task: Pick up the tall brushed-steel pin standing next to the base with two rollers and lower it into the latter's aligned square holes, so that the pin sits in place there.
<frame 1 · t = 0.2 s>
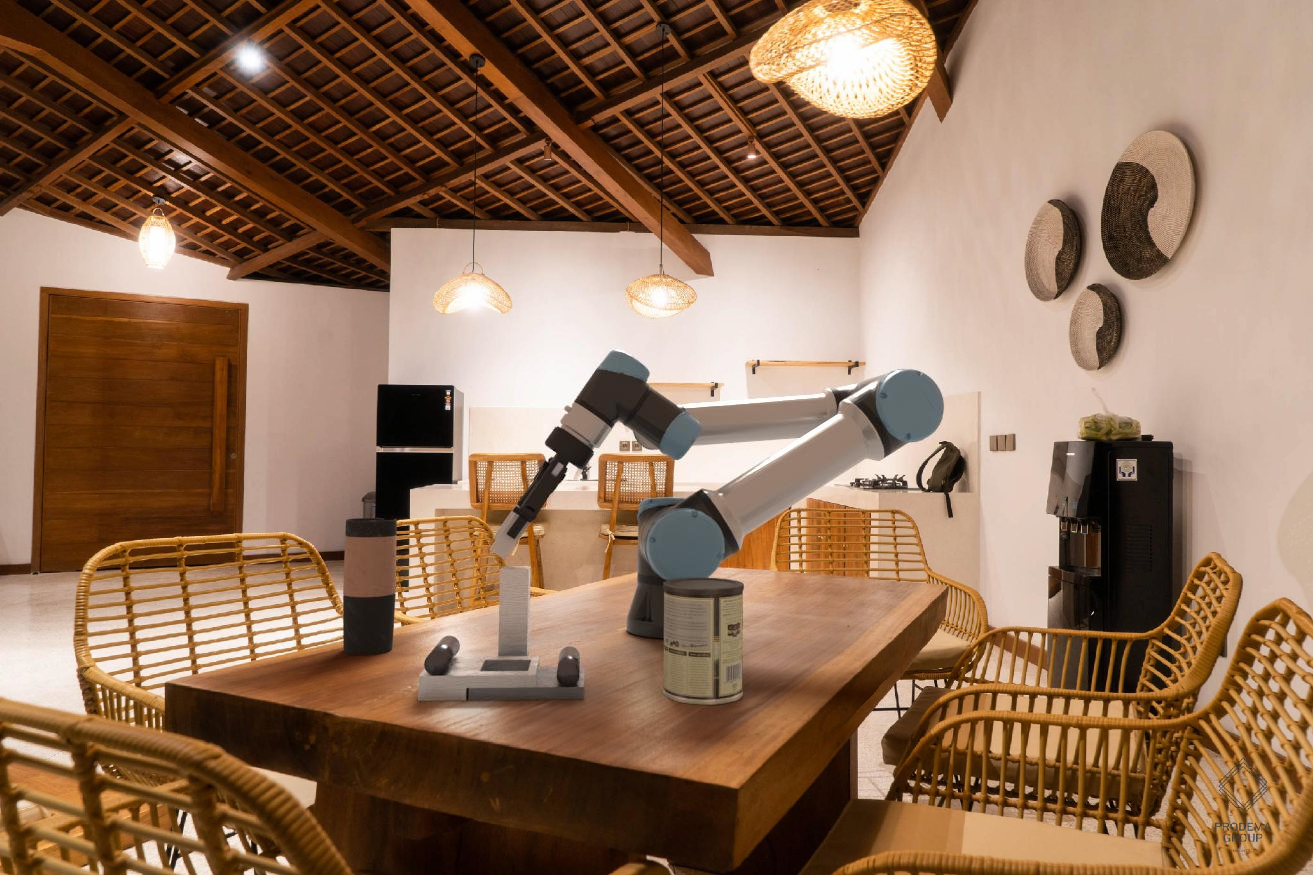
hand: (498, 548, 129), 16 cm above the table, tool tilted 35°, fingers open, 13 cm apart
travel mug: (368, 651, 127), on the table
pin: (513, 666, 118), on the table
coffee can: (702, 695, 105), on the table
base with two rollers: (505, 688, 106), on the table
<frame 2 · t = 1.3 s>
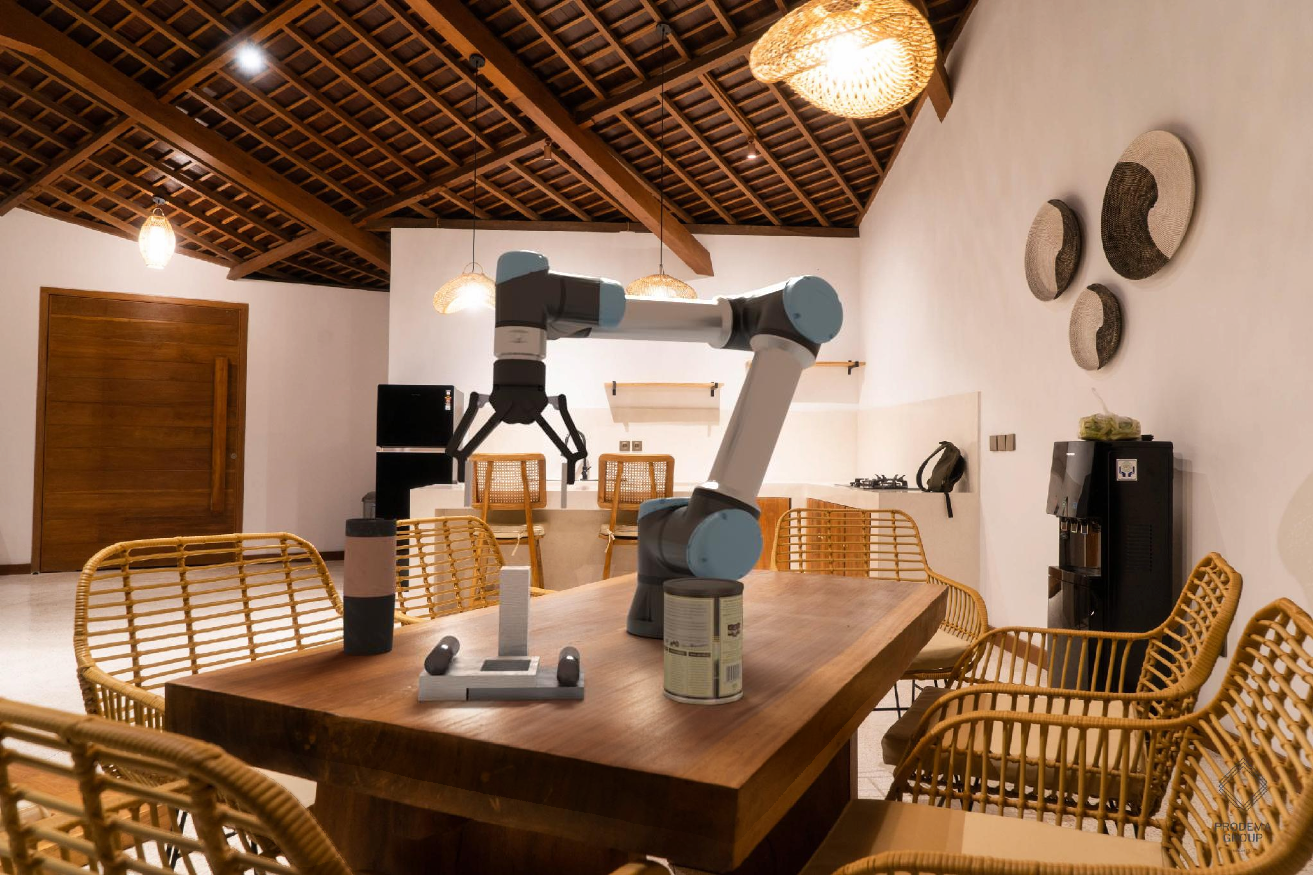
hand: (516, 507, 119), 23 cm above the table, tool pointing down, fingers open, 13 cm apart
nothing on the table moved.
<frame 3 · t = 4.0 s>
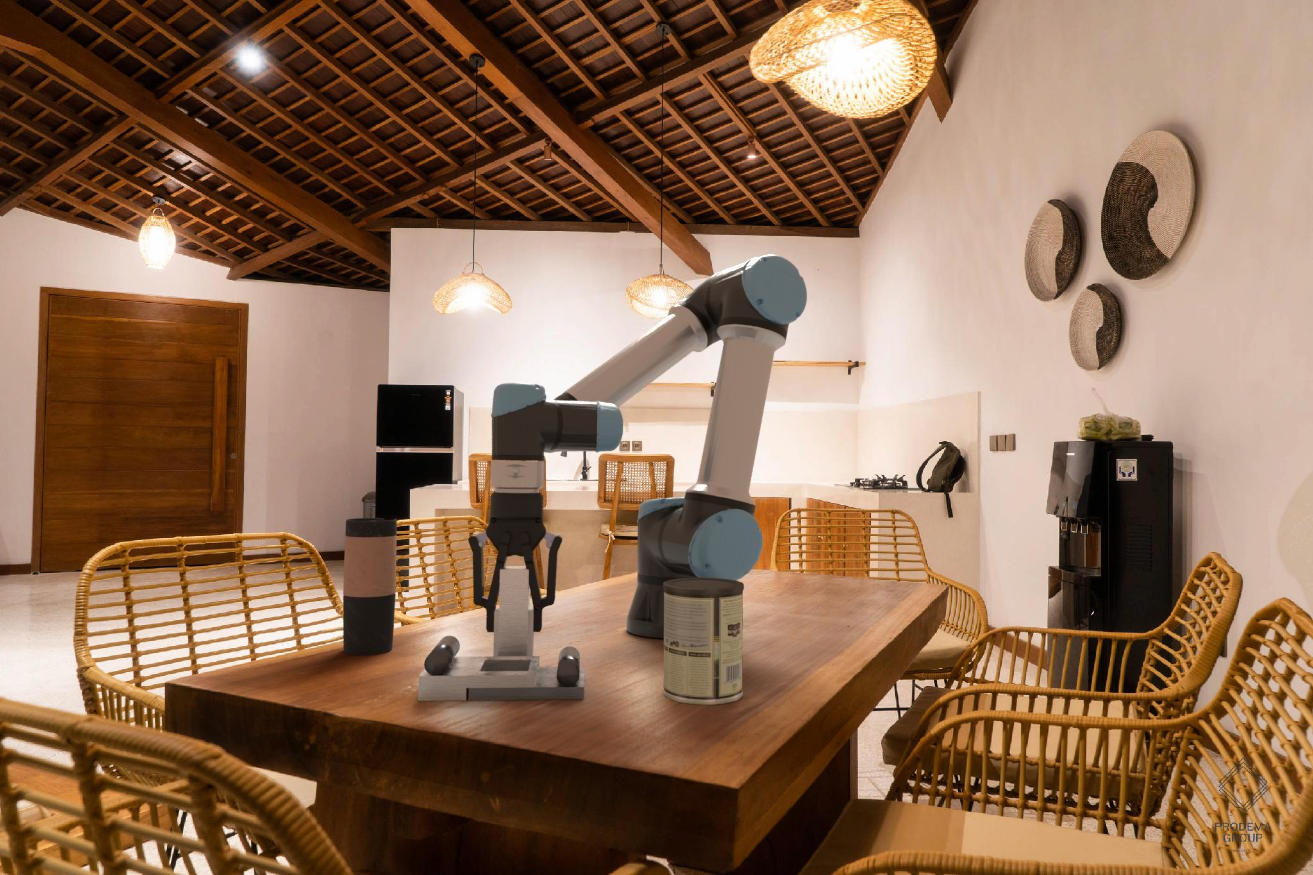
hand: (513, 654, 118), 2 cm above the table, tool pointing down, fingers closed on pin, 4 cm apart
pin: (513, 666, 118), on the table, touching gripper
everything else where it was.
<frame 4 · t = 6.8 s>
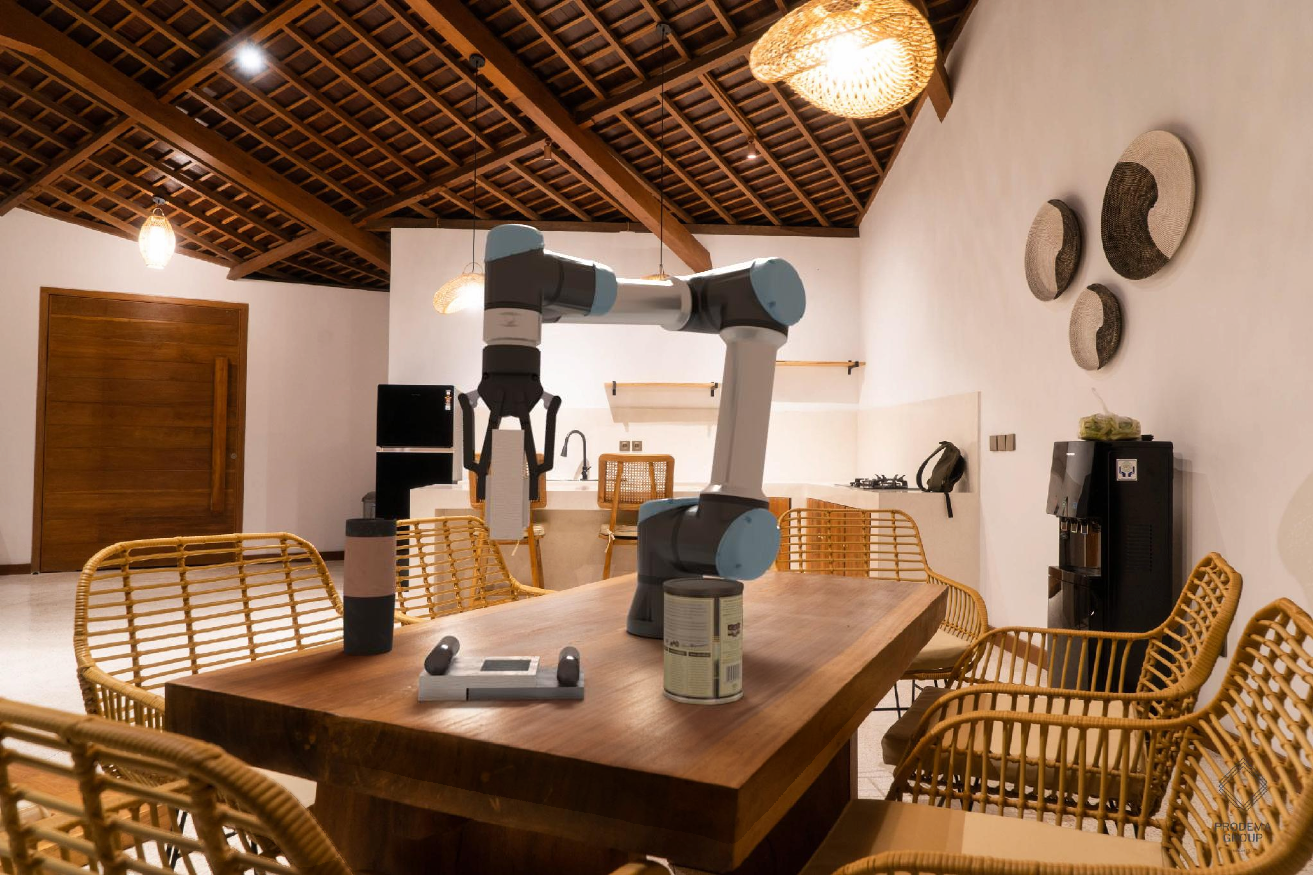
hand: (507, 525, 107), 21 cm above the table, tool pointing down, fingers closed on pin, 4 cm apart
pin: (507, 538, 107), point 19 cm above the table, touching gripper
everything else where it was.
when the fingers open (5 cm above the table, at t = 9.7 s): pin drops 3 cm, resting in base with two rollers.
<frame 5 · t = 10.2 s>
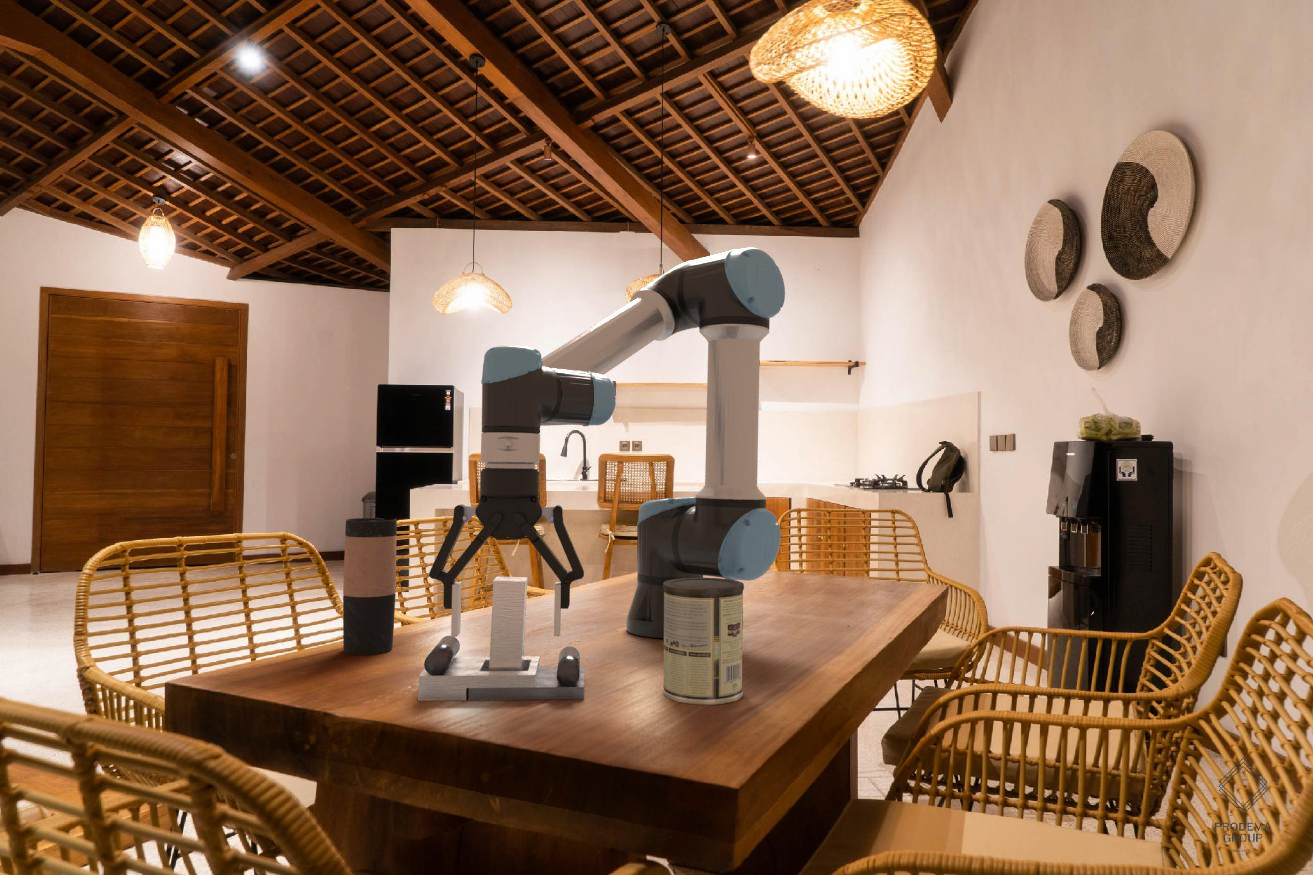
hand: (506, 634, 106), 7 cm above the table, tool pointing down, fingers open, 12 cm apart
pin: (505, 688, 106), resting in base with two rollers
everything else where it was.
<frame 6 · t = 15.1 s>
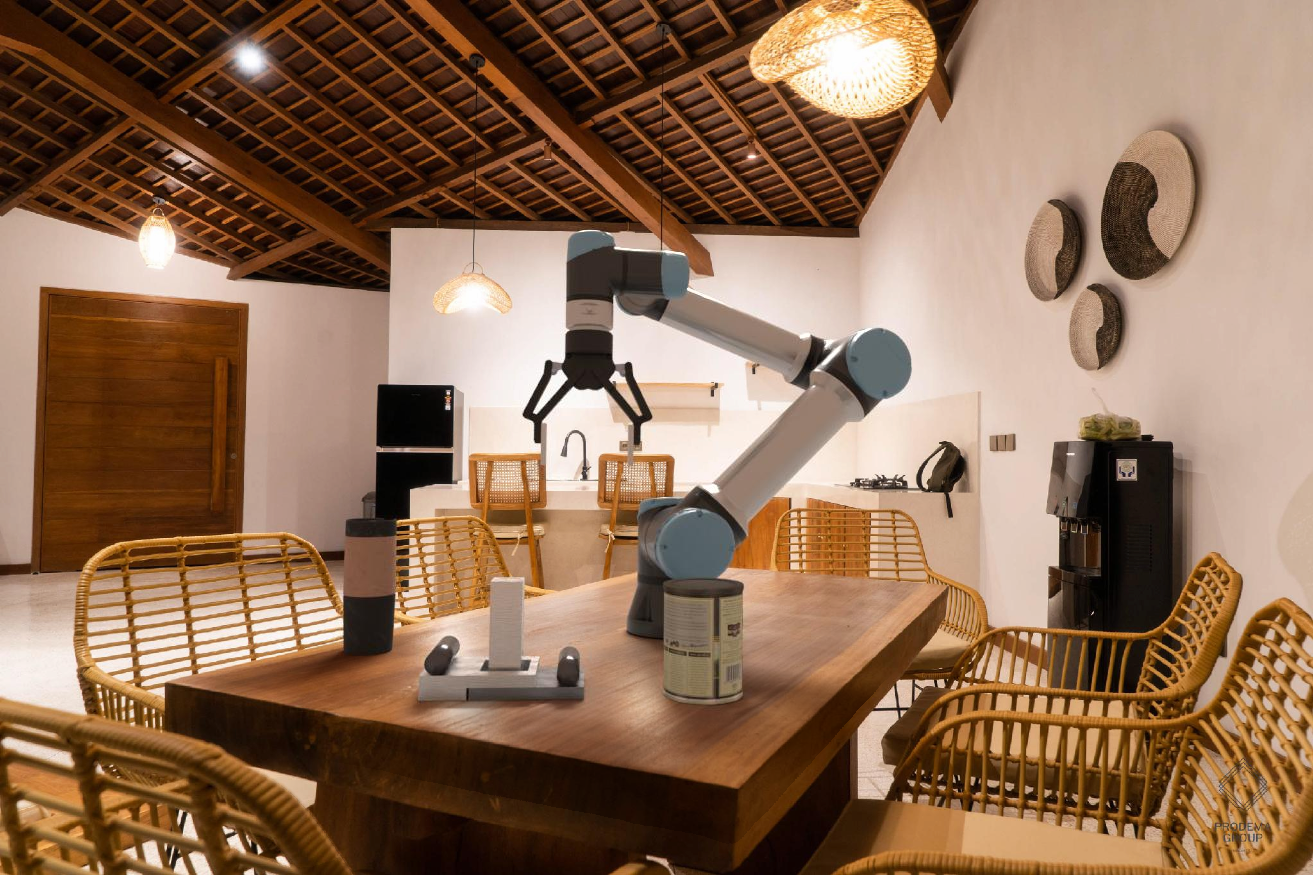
hand: (587, 466, 129), 29 cm above the table, tool pointing down, fingers open, 13 cm apart
nothing on the table moved.
at the end: pin 0.0 cm off-centre on the base with two rollers, point 0.0 cm above the base with two rollers's base; pin tilted 0°; the gripper is holding nothing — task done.
